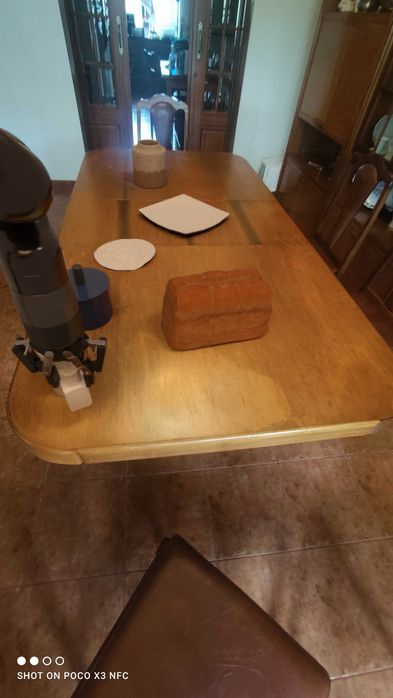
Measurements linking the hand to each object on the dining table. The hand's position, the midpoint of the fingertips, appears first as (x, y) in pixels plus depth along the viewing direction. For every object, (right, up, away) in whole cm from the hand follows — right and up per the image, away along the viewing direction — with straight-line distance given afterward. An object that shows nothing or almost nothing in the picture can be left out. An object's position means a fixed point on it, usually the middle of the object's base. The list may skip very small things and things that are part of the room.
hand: (73, 383), depth 55 cm
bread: (+26, +12, +29) cm, 40 cm away
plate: (+16, +58, +72) cm, 95 cm away
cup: (-6, -1, +14) cm, 15 cm away
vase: (-1, +85, +97) cm, 129 cm away
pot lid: (-7, +22, +22) cm, 32 cm away
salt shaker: (0, -4, +4) cm, 6 cm away
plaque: (-2, +38, +51) cm, 63 cm away
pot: (-7, +15, +29) cm, 34 cm away
